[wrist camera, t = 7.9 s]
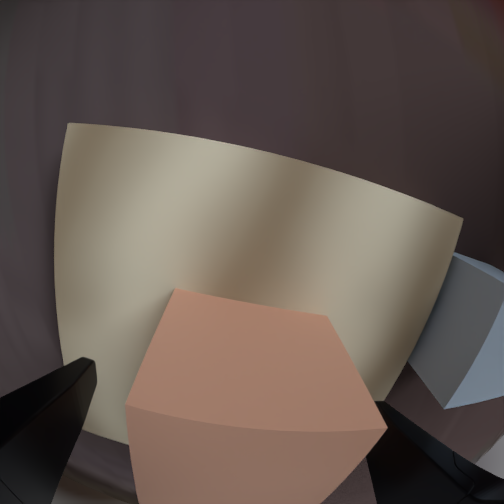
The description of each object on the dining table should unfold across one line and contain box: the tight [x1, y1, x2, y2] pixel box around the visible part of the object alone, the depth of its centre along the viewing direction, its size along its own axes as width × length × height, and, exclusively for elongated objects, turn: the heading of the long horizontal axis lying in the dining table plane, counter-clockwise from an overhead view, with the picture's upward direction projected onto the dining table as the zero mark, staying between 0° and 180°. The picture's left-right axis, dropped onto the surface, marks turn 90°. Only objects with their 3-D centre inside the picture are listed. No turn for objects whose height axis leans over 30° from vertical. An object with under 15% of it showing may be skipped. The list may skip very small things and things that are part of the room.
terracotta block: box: [125, 288, 388, 504], centre depth 7 cm, size 5×5×5 cm
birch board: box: [54, 123, 463, 445], centre depth 11 cm, size 14×14×2 cm
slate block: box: [407, 252, 504, 409], centre depth 10 cm, size 5×5×5 cm
